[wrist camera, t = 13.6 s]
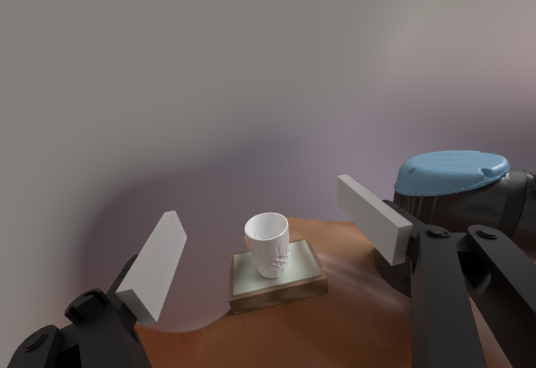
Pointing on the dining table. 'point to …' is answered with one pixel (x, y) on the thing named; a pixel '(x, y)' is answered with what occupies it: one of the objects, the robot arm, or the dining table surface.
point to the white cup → (269, 243)
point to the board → (275, 280)
